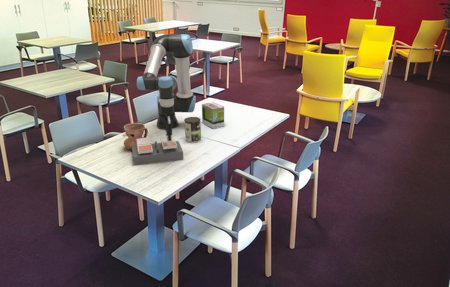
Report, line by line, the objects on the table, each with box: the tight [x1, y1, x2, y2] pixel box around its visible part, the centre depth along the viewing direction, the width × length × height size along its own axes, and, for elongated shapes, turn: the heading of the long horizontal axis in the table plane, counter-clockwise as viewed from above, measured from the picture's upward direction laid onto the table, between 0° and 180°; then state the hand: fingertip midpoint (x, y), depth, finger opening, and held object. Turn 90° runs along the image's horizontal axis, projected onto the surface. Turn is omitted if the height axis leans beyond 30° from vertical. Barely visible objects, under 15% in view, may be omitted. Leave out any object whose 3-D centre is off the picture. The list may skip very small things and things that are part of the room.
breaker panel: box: [131, 140, 184, 166], centre depth 216 cm, size 16×28×7 cm, turn 105°
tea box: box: [201, 101, 225, 130], centre depth 262 cm, size 15×10×15 cm, turn 34°
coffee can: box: [183, 116, 202, 144], centre depth 237 cm, size 10×10×14 cm
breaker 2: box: [159, 136, 177, 149], centre depth 215 cm, size 14×8×2 cm, turn 15°
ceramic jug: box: [122, 122, 149, 151], centre depth 226 cm, size 18×14×14 cm
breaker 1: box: [136, 137, 153, 154], centre depth 212 cm, size 14×8×2 cm, turn 16°
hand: (169, 145), depth 210 cm, fingers closed
